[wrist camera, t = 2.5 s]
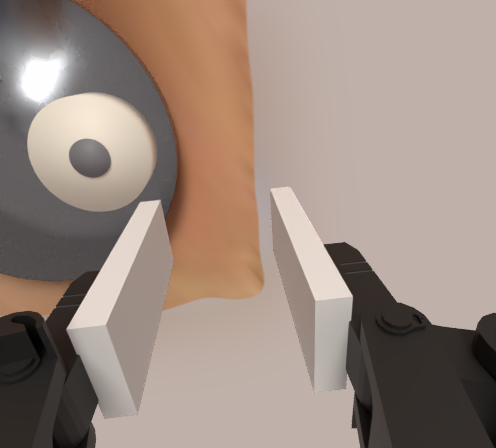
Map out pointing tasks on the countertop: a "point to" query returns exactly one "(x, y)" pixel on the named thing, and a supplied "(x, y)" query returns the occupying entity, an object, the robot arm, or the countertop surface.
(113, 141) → the cream donut
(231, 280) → the countertop surface
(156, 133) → the turntable
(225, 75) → the countertop surface
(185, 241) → the countertop surface
